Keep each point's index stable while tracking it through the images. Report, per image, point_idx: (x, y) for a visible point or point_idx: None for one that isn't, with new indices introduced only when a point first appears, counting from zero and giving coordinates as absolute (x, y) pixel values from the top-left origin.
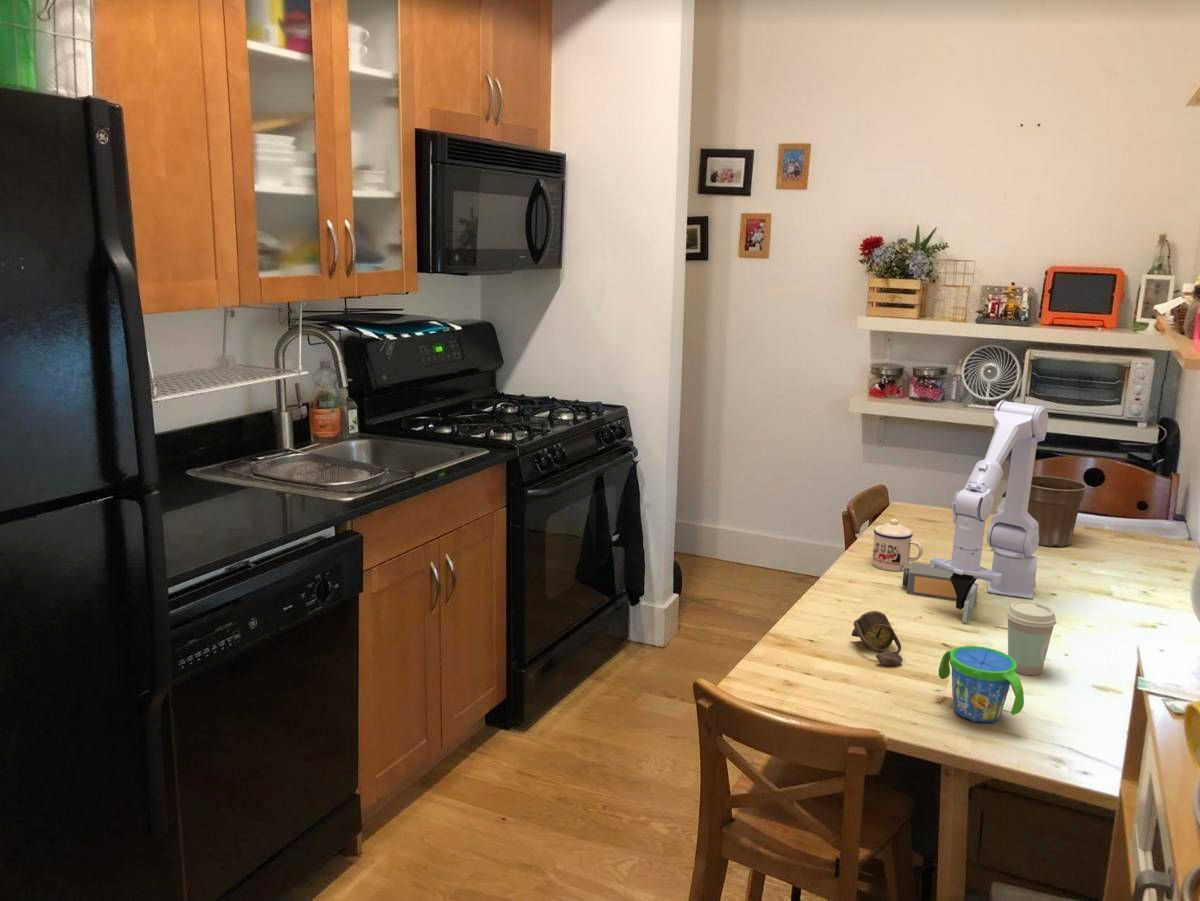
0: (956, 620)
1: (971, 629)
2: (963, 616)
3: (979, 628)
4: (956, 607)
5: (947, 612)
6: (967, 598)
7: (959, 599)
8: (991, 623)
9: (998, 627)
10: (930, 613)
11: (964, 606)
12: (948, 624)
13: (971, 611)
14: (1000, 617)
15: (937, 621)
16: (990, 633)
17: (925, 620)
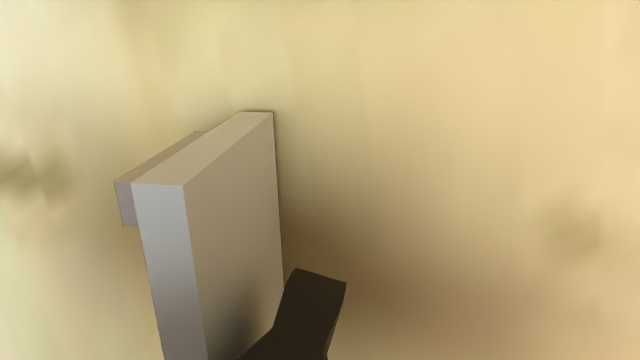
0: (333, 164)
1: (180, 11)
2: (250, 128)
3: (135, 75)
4: (341, 284)
5: (426, 304)
6: (193, 340)
7: (292, 324)
8: (102, 225)
9: (41, 171)
10: (573, 225)
11: (204, 164)
12: (384, 23)
13: (153, 158)
14: (96, 347)
15: (497, 48)
16: (35, 6)
17: (631, 6)
